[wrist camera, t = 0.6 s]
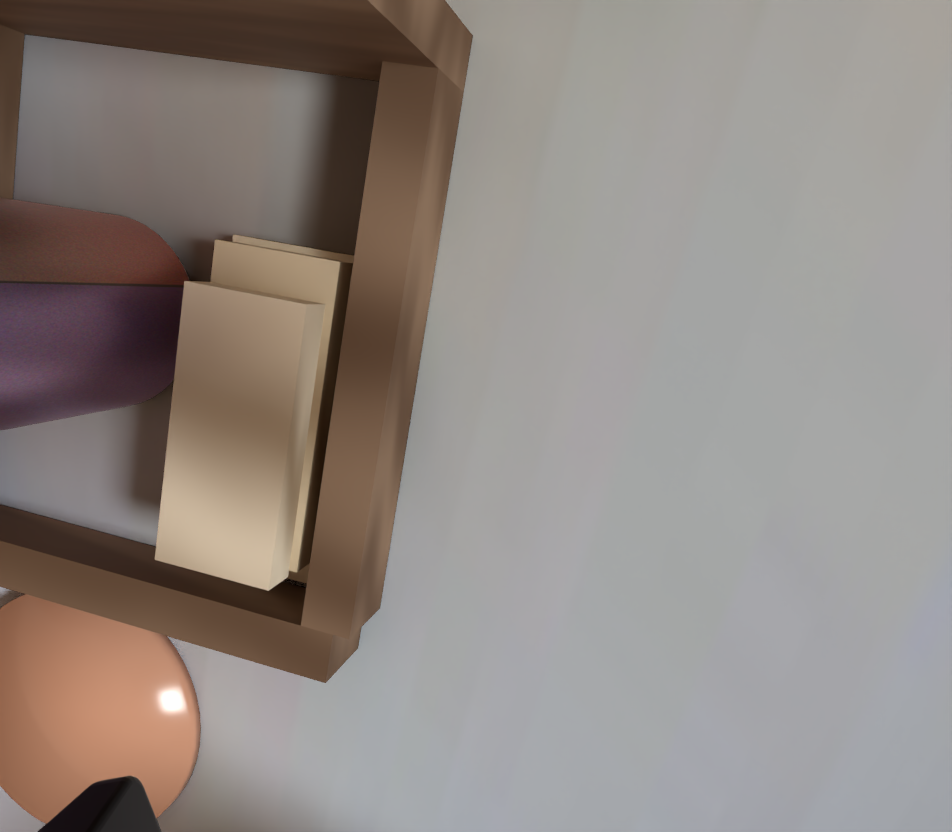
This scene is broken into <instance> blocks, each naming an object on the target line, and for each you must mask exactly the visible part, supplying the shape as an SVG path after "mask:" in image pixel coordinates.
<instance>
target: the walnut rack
mask: <svg viewBox="0 0 952 832" xmlns="http://www.w3.org/2000/svg"><path fill="white" fill-rule="evenodd" d="M25 34H28V35H35V36H43V37H50V38H58V39H65V40H73V41H81V42H88V43H96V44H103V45H111V46H118V47H126V48H133V49H141V50H149V51H156V52H164V53H171V54H179V55H186V56H194V57H202V58H209V59H217V60H224V61H232V62H239V63H247V64H254V65H262V66H270V67H277V68H285V69H292V70H300V71H307V72H315V73H322V74H330V75H338V76H345V77H353V78H360V79H368V80H375V81H380V82H379V89H378V96H377V102H376V109H375V116H374V123H373V130H372V137H371V144H370V151H369V158H368V165H367V172H366V178H365V185H364V192H363V199H362V206H361V213H360V220H359V227H358V234H357V241H356V248H355V254H354V261H353V268H352V275H351V282H350V289H349V296H348V303H347V310H346V317H345V324H344V330H343V337H342V344H341V351H340V358H339V365H338V372H337V379H336V386H335V393H334V400H333V406H332V413H331V420H330V427H329V434H328V441H327V448H326V455H325V462H324V469H323V476H322V482H321V489H320V496H319V503H318V510H317V517H316V524H315V531H314V538H313V545H312V552H311V558H310V565H309V572H308V579H307V586H306V588H304V587H301V586H297V585H293V584H290V583H286V582H280V583H279V584H277V585H276V586H274V587H273V588H272V589H270V590H269V591H268V590H264V589H260V588H257V587H253V586H249V585H246V584H242V583H238V582H235V581H231V580H227V579H224V578H220V577H216V576H213V575H209V574H205V573H202V572H198V571H194V570H191V569H187V568H183V567H180V566H176V565H172V564H169V563H165V562H161V561H158V560H155V552H156V547H154V546H150V545H147V544H143V543H139V542H135V541H132V540H128V539H124V538H121V537H117V536H113V535H110V534H106V533H102V532H99V531H95V530H91V529H88V528H84V527H80V526H77V525H73V524H69V523H66V522H62V521H58V520H55V519H51V518H47V517H44V516H40V515H36V514H33V513H29V512H25V511H22V510H18V509H14V508H11V507H7V506H3V505H0V587H3V588H7V589H10V590H14V591H17V592H20V593H24V594H27V595H30V596H34V597H37V598H41V599H44V600H47V601H51V602H54V603H57V604H61V605H64V606H67V607H71V608H74V609H78V610H81V611H84V612H88V613H91V614H94V615H98V616H101V617H105V618H108V619H111V620H115V621H118V622H121V623H125V624H128V625H132V626H135V627H138V628H142V629H145V630H148V631H152V632H155V633H159V634H162V635H165V636H169V637H172V638H175V639H179V640H182V641H186V642H189V643H192V644H196V645H199V646H202V647H206V648H209V649H213V650H216V651H219V652H223V653H226V654H229V655H233V656H236V657H240V658H243V659H246V660H250V661H253V662H256V663H260V664H263V665H267V666H270V667H273V668H277V669H280V670H283V671H287V672H290V673H294V674H297V675H300V676H304V677H307V678H310V679H314V680H317V681H321V682H324V683H326V682H327V681H328V680H329V679H330V678H331V677H332V675H333V674H334V673H335V672H336V671H337V670H338V669H339V668H340V667H341V666H342V665H343V664H344V663H345V661H346V660H347V659H348V658H349V657H350V656H351V655H352V654H353V653H354V652H355V651H356V650H357V649H358V645H359V638H360V632H361V627H362V626H363V625H364V624H365V623H366V622H367V621H368V620H369V619H370V618H371V617H372V616H373V615H374V614H375V612H376V611H377V610H378V609H379V608H380V604H381V598H382V592H383V586H384V579H385V573H386V567H387V561H388V555H389V549H390V542H391V536H392V530H393V524H394V518H395V512H396V505H397V499H398V493H399V487H400V481H401V475H402V468H403V462H404V456H405V450H406V444H407V438H408V431H409V425H410V419H411V413H412V407H413V401H414V394H415V388H416V382H417V376H418V370H419V364H420V357H421V351H422V345H423V339H424V333H425V327H426V320H427V314H428V308H429V302H430V296H431V290H432V283H433V277H434V271H435V265H436V259H437V253H438V246H439V240H440V234H441V228H442V222H443V216H444V210H445V203H446V197H447V191H448V185H449V179H450V173H451V166H452V160H453V154H454V148H455V142H456V136H457V129H458V123H459V117H460V111H461V105H462V99H463V92H464V86H465V80H466V74H467V68H468V62H469V55H470V49H471V43H472V37H473V35H472V34H471V33H470V32H469V30H468V29H467V28H466V27H465V25H464V24H463V23H462V21H461V20H460V19H459V18H458V16H457V15H456V14H455V13H454V11H453V10H452V9H451V7H450V6H449V5H448V4H447V2H446V1H445V0H0V198H7V199H13V189H14V175H15V161H16V147H17V133H18V119H19V105H20V91H21V77H22V63H23V49H24V35H25Z"/></svg>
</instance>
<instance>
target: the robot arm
mask: <svg viewBox="0 0 952 832" xmlns="http://www.w3.org/2000/svg"><path fill="white" fill-rule="evenodd" d="M38 832H161V829H160V827H159V824H158V821H157V819H156V816H155V814H154V811H153V809H152V806H151V804H150V801H149V799H148V796H147V794H146V791H145V789H144V786H143V785H142V783H141V781H140V780H139V779H138V778H136V777H134V776H123V777H118V778H112V779H106V780H101V781H98V782H95V783H93V784H91V785H90V786H89V787H88V788H86V789H85V790H84V791H83V792H82V793H81V794H80V795H79V796H77V797H76V798H75V799H74V800H73V801H72V802H71V803H69V804H68V805H67V806H66V807H65V808H64V809H63V810H62V811H60V812H59V813H58V814H57V815H56V816H55V817H54V818H52V819H51V820H50V821H49V822H48V823H47V824H46V825H45V826H43V827H42V828H41V829H40V830H39V831H38Z"/></svg>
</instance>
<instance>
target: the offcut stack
mask: <svg viewBox="0 0 952 832" xmlns="http://www.w3.org/2000/svg"><path fill="white" fill-rule="evenodd" d="M353 261H354V255H348V254H342V253H337V252H331V251H325V250H320V249H314V248H308V247H303V246H297V245H291V244H286V243H280V242H275V241H269V240H263V239H258V238H252V237H246V236H239V235H233V241H232V242H231V241H223V240H215V245H214V254H213V262H212V271H211V280H210V282H200V281H184V290H183V299H182V309H181V318H180V327H179V337H178V346H177V355H176V365H175V374H174V383H173V393H172V402H171V412H170V421H169V430H168V440H167V449H166V458H165V468H164V477H163V486H162V496H161V505H160V514H159V524H158V533H157V542H156V552H155V560H158V561H161V562H165V563H169V564H172V565H176V566H180V567H183V568H187V569H191V570H194V571H198V572H202V573H205V574H209V575H213V576H216V577H220V578H224V579H227V580H231V581H235V582H238V583H242V584H246V585H249V586H253V587H257V588H260V589H264V590H268V591H269V590H270V589H272V588H273V587H274V586H276V585H277V584H279V583H280V582H282V581H283V580H284V579H286V578H288V579H291V580H295V581H299V582H303V583H306V584H307V579H308V572H309V565H310V558H311V552H312V545H313V538H314V531H315V524H316V517H317V510H318V503H319V496H320V489H321V482H322V476H323V469H324V462H325V455H326V448H327V441H328V434H329V427H330V420H331V413H332V406H333V400H334V393H335V386H336V379H337V372H338V365H339V358H340V351H341V344H342V337H343V330H344V324H345V317H346V310H347V303H348V296H349V289H350V282H351V275H352V268H353Z"/></svg>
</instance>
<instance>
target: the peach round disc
mask: <svg viewBox="0 0 952 832" xmlns="http://www.w3.org/2000/svg"><path fill="white" fill-rule="evenodd" d="M200 733H201V725H200V712H199V706H198V701H197V696H196V693H195V689H194V686H193V683H192V680H191V677H190V675H189V673H188V670H187V668H186V666H185V664H184V662H183V660H182V658H181V657H180V655H179V653H178V651H177V650H176V648H175V647H174V645H173V644H172V643H171V641H170V640H169V639H168V637H167V636H165V635H162V634H159V633H155V632H152V631H148V630H145V629H142V628H138V627H135V626H132V625H128V624H125V623H121V622H118V621H115V620H111V619H108V618H105V617H101V616H98V615H94V614H91V613H88V612H84V611H81V610H78V609H74V608H71V607H67V606H64V605H61V604H57V603H54V602H51V601H47V600H44V599H41V598H37V597H34V596H30V595H27V594H25V595H23V596H20V597H18V598H16V599H14V600H12V601H11V602H9V603H7V604H6V605H4V606H3V607H1V608H0V786H1V787H2V788H3V789H4V790H5V792H6V793H7V794H8V795H9V796H10V797H11V798H12V799H13V800H14V801H15V802H16V803H17V804H18V805H20V806H21V807H22V808H23V809H24V810H26V811H27V812H28V813H30V814H31V815H32V816H34V817H35V818H37V819H39V820H40V821H42V822H44V823H45V824H47V823H48V822H49V821H50V820H51V819H52V818H54V817H55V816H56V815H57V814H58V813H59V812H60V811H62V810H63V809H64V808H65V807H66V806H67V805H68V804H69V803H71V802H72V801H73V800H74V799H75V798H76V797H77V796H79V795H80V794H81V793H82V792H83V791H84V790H85V789H86V788H88V787H89V786H90V785H91V784H93V783H95V782H98V781H101V780H106V779H112V778H118V777H123V776H134V777H136V778H138V779H139V780H140V781H141V783H142V785H143V786H144V789H145V791H146V794H147V796H148V799H149V801H150V804H151V806H152V809H153V811H154V814H155V816H156V819H157V818H158V817H159V816H160V815H161V814H162V813H163V812H164V811H165V810H166V809H167V808H168V807H169V806H170V805H171V804H172V803H173V802H174V801H175V800H176V799H177V798H178V796H179V795H180V794H181V792H182V791H183V789H184V788H185V787H186V785H187V783H188V781H189V779H190V777H191V775H192V773H193V770H194V767H195V764H196V761H197V757H198V752H199V746H200Z"/></svg>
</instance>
